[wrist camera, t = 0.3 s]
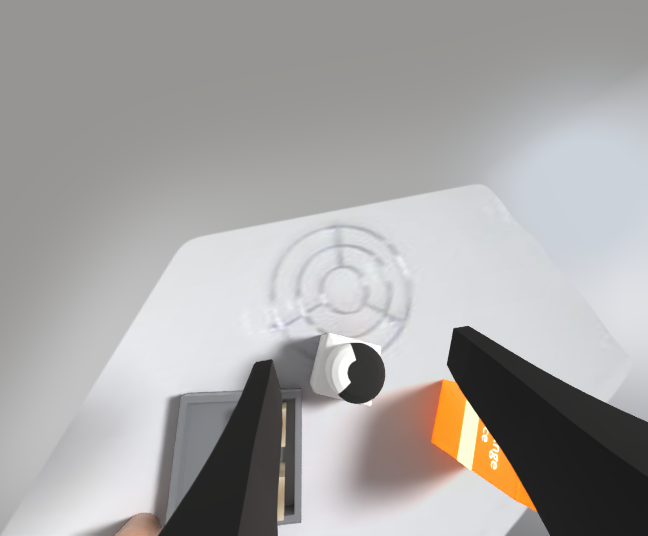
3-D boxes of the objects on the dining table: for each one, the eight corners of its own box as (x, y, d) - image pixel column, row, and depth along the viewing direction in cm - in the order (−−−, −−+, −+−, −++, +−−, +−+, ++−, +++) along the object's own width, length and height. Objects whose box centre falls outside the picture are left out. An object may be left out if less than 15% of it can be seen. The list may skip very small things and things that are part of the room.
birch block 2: (284, 499, 32) (283, 520, 28) (251, 502, 32) (246, 524, 28) (285, 461, 33) (284, 476, 29) (253, 464, 33) (248, 479, 29)
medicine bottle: (366, 345, 39) (397, 346, 28) (356, 396, 37) (386, 419, 26) (321, 333, 39) (334, 329, 27) (308, 383, 37) (317, 402, 25)
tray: (300, 509, 32) (301, 522, 30) (173, 522, 31) (163, 537, 28) (301, 388, 36) (301, 391, 34) (188, 392, 35) (180, 396, 32)
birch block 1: (285, 435, 34) (285, 446, 30) (254, 437, 34) (250, 448, 30) (286, 401, 35) (285, 408, 31) (256, 402, 35) (251, 410, 31)
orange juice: (430, 442, 37) (582, 548, 18) (442, 378, 39) (585, 410, 20) (481, 461, 37) (687, 587, 18) (490, 396, 39) (676, 445, 20)
